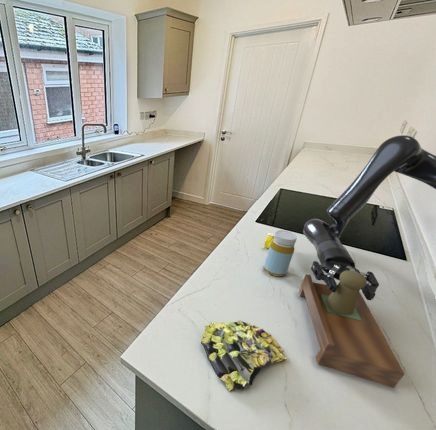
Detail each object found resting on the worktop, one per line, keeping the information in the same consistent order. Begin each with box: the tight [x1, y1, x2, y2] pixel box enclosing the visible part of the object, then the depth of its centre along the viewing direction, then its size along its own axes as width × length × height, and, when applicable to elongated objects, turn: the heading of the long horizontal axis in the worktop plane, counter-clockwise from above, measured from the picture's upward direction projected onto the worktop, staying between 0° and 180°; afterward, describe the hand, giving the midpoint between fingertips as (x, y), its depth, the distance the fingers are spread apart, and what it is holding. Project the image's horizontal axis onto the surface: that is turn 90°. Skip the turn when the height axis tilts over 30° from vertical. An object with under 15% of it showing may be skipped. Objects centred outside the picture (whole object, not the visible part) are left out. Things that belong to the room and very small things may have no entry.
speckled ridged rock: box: [200, 320, 288, 392], centre depth 64 cm, size 20×16×6 cm
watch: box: [263, 232, 275, 249], centre depth 105 cm, size 6×3×6 cm, turn 130°
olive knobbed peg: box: [326, 270, 367, 315], centre depth 69 cm, size 6×6×11 cm
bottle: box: [263, 229, 298, 277], centre depth 90 cm, size 7×7×15 cm
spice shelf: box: [298, 273, 406, 388], centre depth 69 cm, size 14×26×7 cm, turn 156°
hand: (352, 293), depth 67 cm, fingers open, 7 cm apart
